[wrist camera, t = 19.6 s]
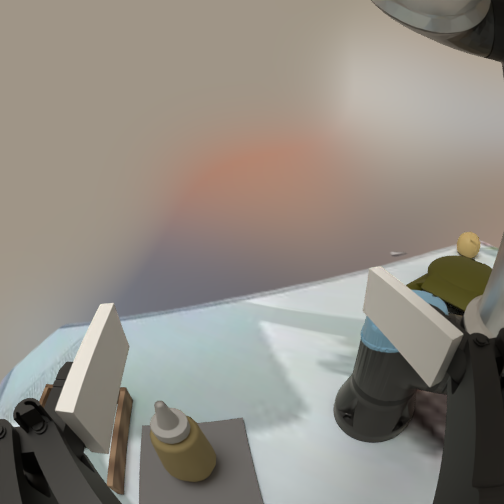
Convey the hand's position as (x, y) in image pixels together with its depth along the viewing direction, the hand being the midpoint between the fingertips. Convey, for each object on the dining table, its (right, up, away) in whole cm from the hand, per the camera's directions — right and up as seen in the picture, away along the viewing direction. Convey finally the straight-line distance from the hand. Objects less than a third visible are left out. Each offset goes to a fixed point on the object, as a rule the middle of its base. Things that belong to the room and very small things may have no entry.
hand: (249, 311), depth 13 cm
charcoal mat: (-9, -31, +19) cm, 37 cm away
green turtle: (+69, -11, +57) cm, 90 cm away
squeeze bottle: (-9, -30, +19) cm, 36 cm away
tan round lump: (+96, +1, +82) cm, 126 cm away
